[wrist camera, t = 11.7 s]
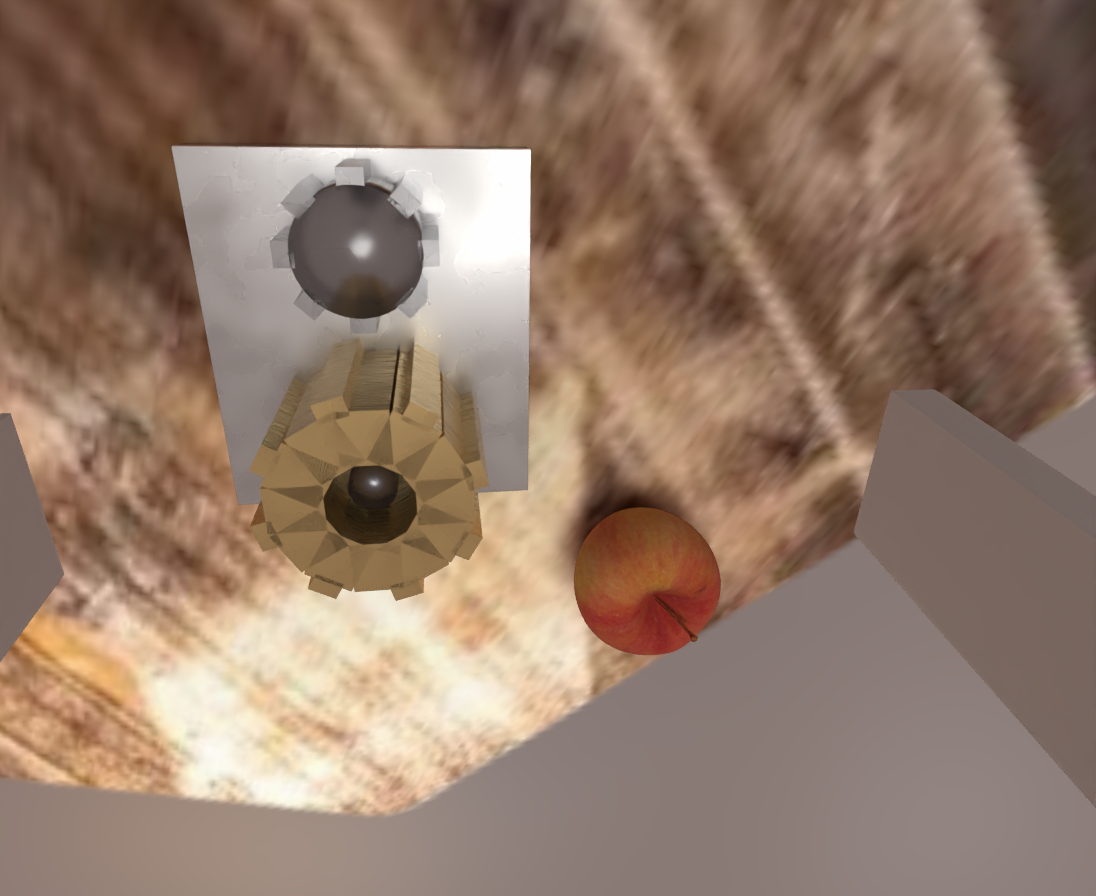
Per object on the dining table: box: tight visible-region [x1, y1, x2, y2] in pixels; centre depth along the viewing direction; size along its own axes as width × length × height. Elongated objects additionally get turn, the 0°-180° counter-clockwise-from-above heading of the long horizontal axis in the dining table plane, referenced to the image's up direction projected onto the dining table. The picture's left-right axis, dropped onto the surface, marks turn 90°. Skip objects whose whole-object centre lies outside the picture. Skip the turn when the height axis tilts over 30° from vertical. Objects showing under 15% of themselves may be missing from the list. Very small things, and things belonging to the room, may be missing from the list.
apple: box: [574, 507, 721, 655], centre depth 38 cm, size 7×7×8 cm
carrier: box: [171, 144, 531, 510], centre depth 31 cm, size 16×14×7 cm
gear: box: [249, 338, 489, 601], centre depth 32 cm, size 9×9×7 cm
